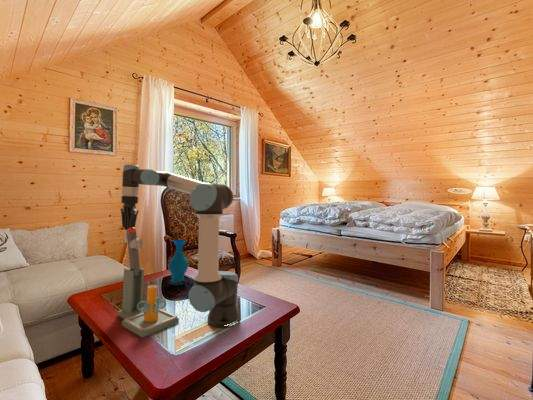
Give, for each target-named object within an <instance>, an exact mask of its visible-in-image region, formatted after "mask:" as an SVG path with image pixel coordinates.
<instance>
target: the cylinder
mask: <svg viewBox="0 0 533 400" xmlns="http://www.w3.org/2000/svg"><path fill="white" fill-rule="evenodd" d="M146 291H147V295H146V299H145V300H144V301H141V302H139V303H138V304H137V309H138V310H139V311H143V313H144V321H145V322H154V321H156V320H158V312H159V310H158V309H162V310H164V309H165V307H166V306H167V302H166V300H165V299H160V297H159V296H158V285H156V284H151V285H148V286H147V289H146ZM160 302H162V303H163V304H164V305H163V306H161V307H160V306H159V304H160ZM141 303H142V304H144V305H143V306H142V307H143V309H140V308H139V304H141Z"/></svg>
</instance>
